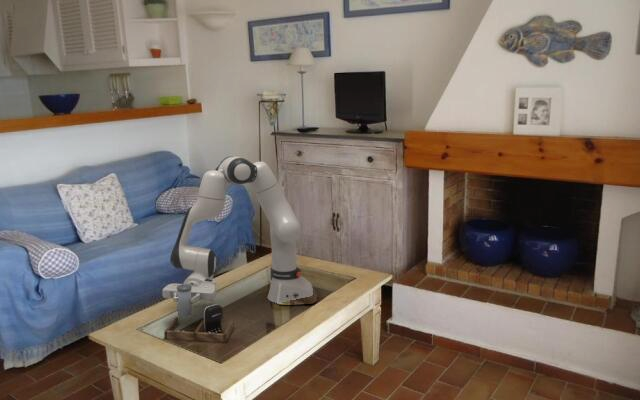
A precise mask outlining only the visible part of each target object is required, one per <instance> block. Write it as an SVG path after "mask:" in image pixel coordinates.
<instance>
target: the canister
mask: <svg viewBox="0 0 640 400" xmlns="http://www.w3.org/2000/svg"><path fill="white" fill-rule="evenodd" d="M181 284H182V285H179V286H177V300H178V302H177V317H178V318H179V317H180V318H187V317H191V316H192V303H190V298H191V289H192V286H191V285H188V284H183V283H181Z"/></svg>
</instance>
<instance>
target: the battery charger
mask: <svg viewBox="0 0 640 400" xmlns="http://www.w3.org/2000/svg"><path fill="white" fill-rule="evenodd" d="M203 318H204V330H203V333H209V332H211V333H219V334H222V332H223V330H222V324H221V323H222V319H223V318H224V310H223V307H222V306H221V305H220V304H218V303H214V304H211V305H208V306H207V305H206V306H205V307H204V309H203Z"/></svg>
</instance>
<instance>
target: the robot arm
mask: <svg viewBox="0 0 640 400" xmlns="http://www.w3.org/2000/svg"><path fill="white" fill-rule="evenodd" d="M231 184H235V185H245V184H249V186H250V187H251V189H252V191H253V193H254V195H255V197H256V199H257V201H258V203H259V206H260V208H261V209H262V211H263V213H264V214H265V217H266V218H267V220H268V223H269V235H270V245H271V267H270V270H269V271H270V272H269V277H270V285H269V290H268V294H267V299H268V301H270V302H272V303H274V302H275V303H274V304H276V303H277V304H284V303H282V302H286V301H290V300H296V299H300V298H305V297H310V296H312V295H313V291H314V288H313V285H312V282H311V281H309V280H308V279H306V278H305V277H303V276H302V269H301V267H297V266H298V265H297V262H298V260H297V259H298V257H297V255H298V250H297V243H296V241H297V240H298V239H299V238H300V237H301V233H302V228H301V225H300V222H299V221H298V220H299V219H298V218H297V216H296V214H295V212H294V211H293V208H292V206H291V205H290V202H289V201H288V200H287V197H286V196H285V193H284V192H283V190H282V187H281V185H280V183H279V181H278V179H277V178H276V175H275V174H274V172H273V171H272V169H271V168H270V167H269V165H268V164H267V163H266V162H265V161H256V162H251V161H250V160H248V159H246V158H243V157H241V156H236V155H235V156H233V155H232V156H226V157H225V158H224V159H222V161H220V163H219V164H218V166H217V167H216V168H215V169H212V170H208V171H206V172H204V174H203V176H202V178H201V182H200V184H199V188H198V194H197V198H196V201H195V202H194V204H193V206H190V207H188V209H187V211H186V213H185V215H184V217H183V220H182V223H181V226H180V228H179V230H178V231H179V232H178V234H177V238H176V242H174V246H173V248H172V251H171V253H170V260H169V261H170V263H171V265H172V266H173V267H174V268H175V269H177V270H189V271H192V272H191V273H190V275H188V277H187V278H186V279H185V280H184V281H183V283H169V284H167V285H165V287H163V288H162V291H161V294H162V297H163V298H164V299H172V301H173V302H177V303H178V300H177V286H179V285H182V284H188V285H191V286H192V289H191V298H190V303H191V304H192V303H193V304H194V303H195V302H198V301H202V302H203V301H207V302H213V301H214V300H216V293H217V285H216V284H217V283H216V281H215V280H213V278H214V274H215V273H216V270H217V266H218V256H217V254H216V253H215V251H214V250H213V249H210V248H205V247H198V246H193V245H189V244H188V242H189V239H190V236H191V232H192V230H193V226H195V224H197V223H199V222H203V221H208V220H212V219H215V218H217V217H219V216H220V215H221V214H222V212H223V210H224V208H225V204H226V199H227V198H226V197H227V192H228V188H229V187H230V186H231ZM277 304H276V305H277Z"/></svg>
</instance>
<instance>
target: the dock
mask: <svg viewBox="0 0 640 400" xmlns="http://www.w3.org/2000/svg"><path fill="white" fill-rule="evenodd" d="M178 325H179V316H175V317H174V318H173V320H172V321H171V322H170V323H169V325H168V327H166V328H165V330H164V331H163V332H164V333H163V335H164V340H172V341H173V340H175V341H189V342H191V341H192V342H205V343H206V342H208V343H209V342H210V343H227V342H228V339H229V338H230V335H231V333H232V331H233V329H234V328H235V326H234V325H235V324H234V319H230V321H229V323H228V325H227V327H226V328H225V330H224V332H223V333H220V334H219V333H211V332H209V333H204V317H203V318H202V320H201V322H200V323H199V324H198V325H197V328H196V329H195V331H185V330H181V331H180V330H179V329H178V330H175V329H176V328H178Z"/></svg>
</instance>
